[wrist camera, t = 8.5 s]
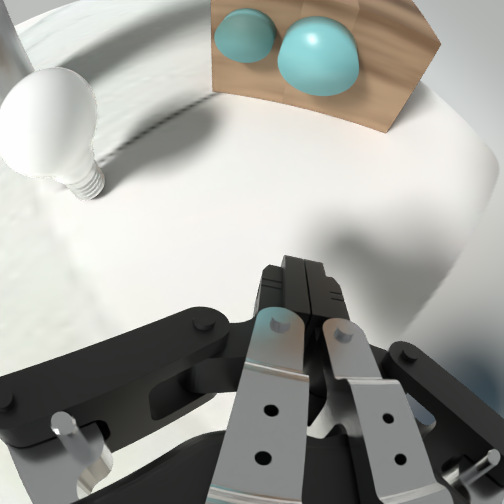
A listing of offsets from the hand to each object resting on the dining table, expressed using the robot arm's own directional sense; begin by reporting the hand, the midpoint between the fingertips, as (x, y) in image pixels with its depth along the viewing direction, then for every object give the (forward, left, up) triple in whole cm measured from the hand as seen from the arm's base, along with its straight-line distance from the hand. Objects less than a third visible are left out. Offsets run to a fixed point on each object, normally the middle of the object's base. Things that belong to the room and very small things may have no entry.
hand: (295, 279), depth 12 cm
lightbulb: (-15, 0, -7) cm, 17 cm away
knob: (-7, +20, -2) cm, 21 cm away
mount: (-7, +20, -7) cm, 22 cm away
